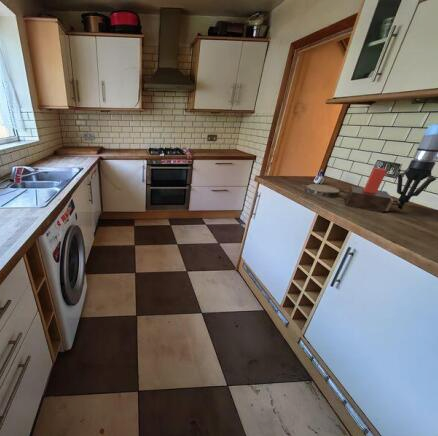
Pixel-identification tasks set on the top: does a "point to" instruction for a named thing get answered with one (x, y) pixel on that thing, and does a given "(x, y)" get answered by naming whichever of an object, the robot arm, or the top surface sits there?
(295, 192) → the top surface
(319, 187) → the round wood slice
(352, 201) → the dark wooden block
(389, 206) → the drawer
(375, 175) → the tea box
